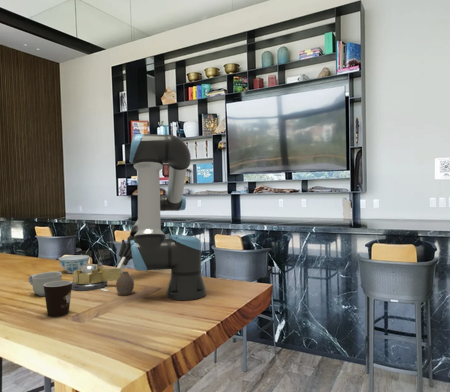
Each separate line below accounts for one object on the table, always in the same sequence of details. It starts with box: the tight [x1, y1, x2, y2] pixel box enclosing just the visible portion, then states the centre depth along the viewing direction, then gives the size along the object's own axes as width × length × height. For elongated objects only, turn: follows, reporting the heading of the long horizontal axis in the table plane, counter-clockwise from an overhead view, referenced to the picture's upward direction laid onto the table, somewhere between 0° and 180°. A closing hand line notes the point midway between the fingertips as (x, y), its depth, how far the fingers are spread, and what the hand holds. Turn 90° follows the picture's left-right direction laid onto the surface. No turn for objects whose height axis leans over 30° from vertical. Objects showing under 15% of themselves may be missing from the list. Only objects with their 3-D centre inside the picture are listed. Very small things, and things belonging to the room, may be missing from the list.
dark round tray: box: [71, 264, 109, 292], centre depth 155 cm, size 15×15×9 cm
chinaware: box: [58, 254, 90, 274], centre depth 187 cm, size 15×15×8 cm
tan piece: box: [72, 265, 122, 284], centre depth 155 cm, size 20×12×5 cm, turn 91°
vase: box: [115, 270, 135, 296], centre depth 141 cm, size 7×7×9 cm
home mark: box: [98, 288, 110, 292], centre depth 147 cm, size 5×1×1 cm, turn 51°
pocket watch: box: [96, 256, 104, 269], centre depth 171 cm, size 8×8×10 cm
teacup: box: [28, 271, 63, 297], centre depth 144 cm, size 14×11×8 cm
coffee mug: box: [44, 280, 73, 318], centre depth 119 cm, size 12×9×10 cm
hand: (119, 270), depth 160 cm, fingers closed
